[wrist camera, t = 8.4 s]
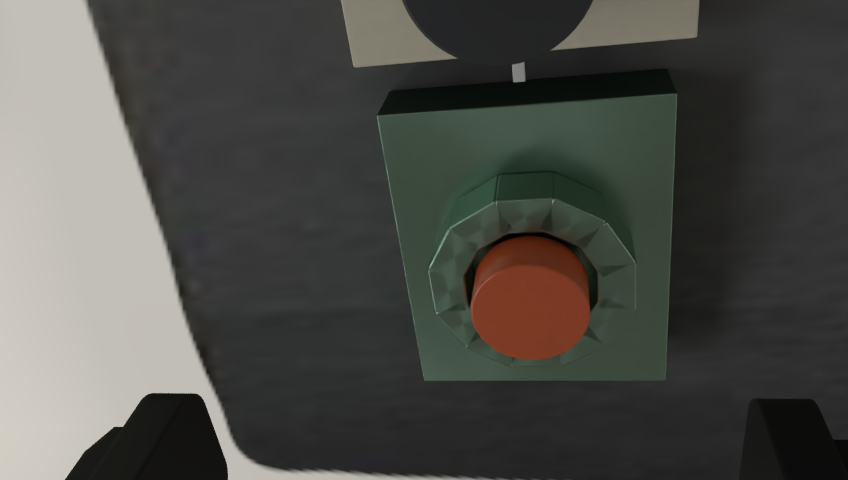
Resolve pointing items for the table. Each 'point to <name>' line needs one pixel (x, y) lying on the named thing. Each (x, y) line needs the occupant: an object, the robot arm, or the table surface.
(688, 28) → the control panel
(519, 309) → the button
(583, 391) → the table surface
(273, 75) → the table surface
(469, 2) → the dial
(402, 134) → the button box
